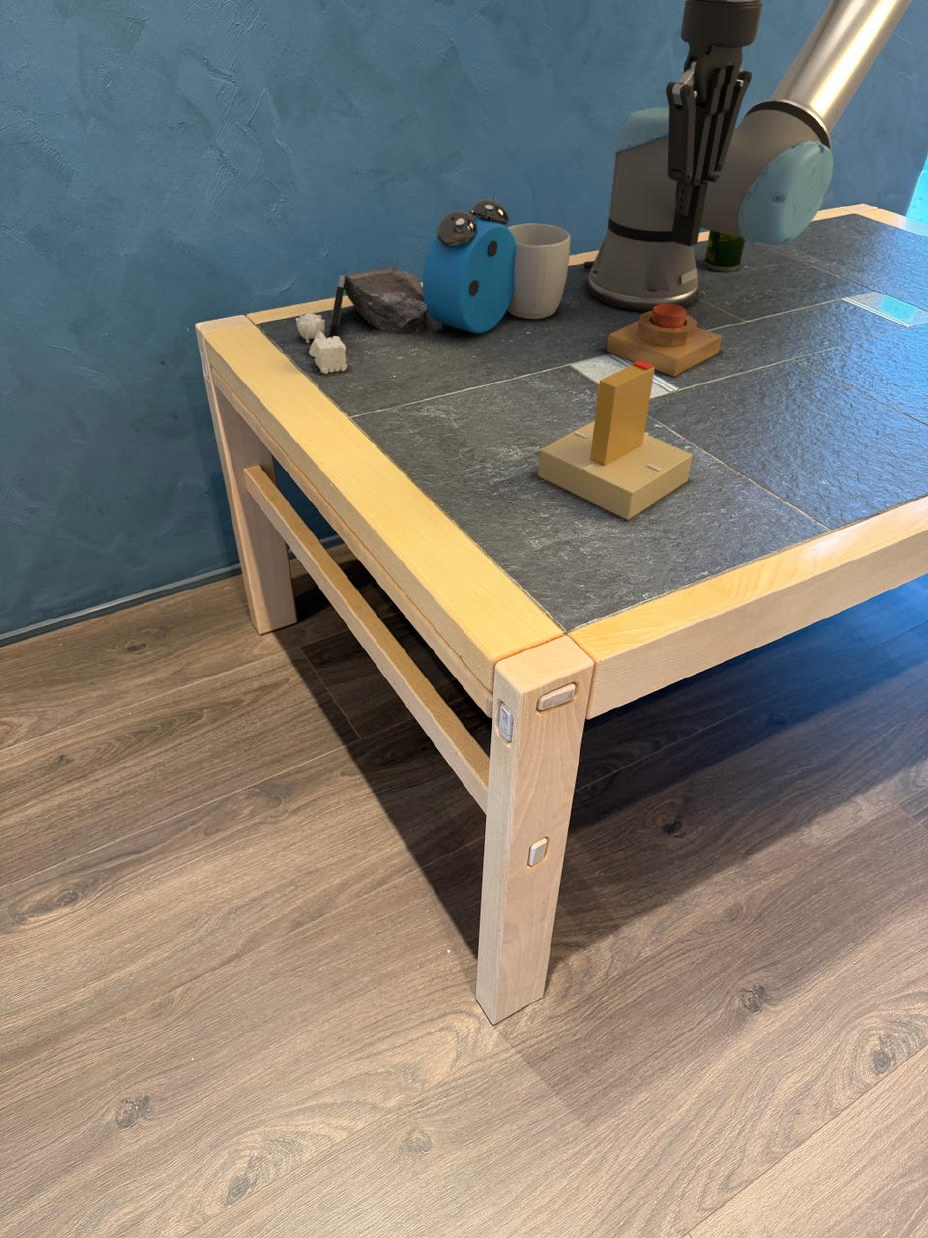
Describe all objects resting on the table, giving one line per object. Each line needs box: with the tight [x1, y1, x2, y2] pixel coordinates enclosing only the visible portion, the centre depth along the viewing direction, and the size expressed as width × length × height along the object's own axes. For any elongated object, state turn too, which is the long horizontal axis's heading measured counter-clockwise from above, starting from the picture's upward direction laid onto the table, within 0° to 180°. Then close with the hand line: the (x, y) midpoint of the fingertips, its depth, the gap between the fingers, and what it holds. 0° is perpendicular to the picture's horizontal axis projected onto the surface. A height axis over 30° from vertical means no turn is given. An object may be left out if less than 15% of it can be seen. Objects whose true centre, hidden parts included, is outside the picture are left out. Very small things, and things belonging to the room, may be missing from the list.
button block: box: [606, 311, 723, 377], centre depth 112 cm, size 10×10×4 cm
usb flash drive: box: [328, 274, 346, 338], centre depth 116 cm, size 9×5×1 cm
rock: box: [343, 267, 429, 336], centre depth 118 cm, size 14×11×5 cm
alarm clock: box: [422, 197, 516, 334], centre depth 113 cm, size 13×6×15 cm, turn 144°
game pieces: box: [295, 312, 348, 375], centre depth 110 cm, size 12×3×3 cm, turn 22°
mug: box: [506, 223, 571, 320], centre depth 120 cm, size 13×9×10 cm
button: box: [651, 304, 687, 329], centre depth 110 cm, size 4×4×2 cm
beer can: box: [703, 230, 746, 273], centre depth 134 cm, size 5×5×12 cm
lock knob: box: [590, 360, 655, 465], centre depth 85 cm, size 6×2×8 cm, turn 135°
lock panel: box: [537, 420, 694, 521], centre depth 88 cm, size 11×10×3 cm
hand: (683, 241), depth 104 cm, fingers closed
